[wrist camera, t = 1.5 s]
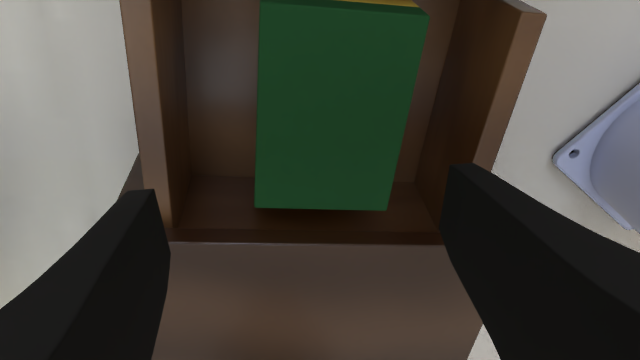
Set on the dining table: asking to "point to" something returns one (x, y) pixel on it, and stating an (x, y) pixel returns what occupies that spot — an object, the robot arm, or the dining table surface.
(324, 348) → the cabinet
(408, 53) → the sponge
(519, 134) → the dining table surface
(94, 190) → the dining table surface
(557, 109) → the dining table surface
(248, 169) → the drawer
